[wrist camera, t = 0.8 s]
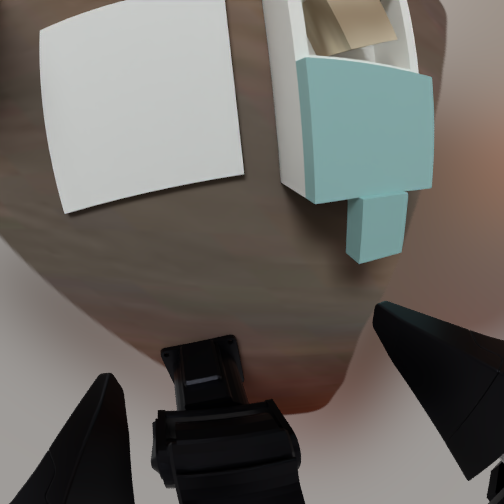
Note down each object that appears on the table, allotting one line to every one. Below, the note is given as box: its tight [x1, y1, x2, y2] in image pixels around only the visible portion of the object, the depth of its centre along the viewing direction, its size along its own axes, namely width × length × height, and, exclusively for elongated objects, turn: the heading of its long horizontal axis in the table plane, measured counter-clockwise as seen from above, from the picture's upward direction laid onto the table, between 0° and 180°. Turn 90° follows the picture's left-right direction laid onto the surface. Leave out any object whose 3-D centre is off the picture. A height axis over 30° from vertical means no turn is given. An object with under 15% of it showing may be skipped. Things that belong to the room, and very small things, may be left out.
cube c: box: [302, 0, 398, 56], centre depth 13 cm, size 4×4×4 cm
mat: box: [40, 0, 244, 214], centre depth 14 cm, size 13×12×1 cm
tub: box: [262, 0, 419, 198], centre depth 14 cm, size 15×9×4 cm, turn 6°
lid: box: [296, 57, 434, 264], centre depth 15 cm, size 12×9×2 cm
